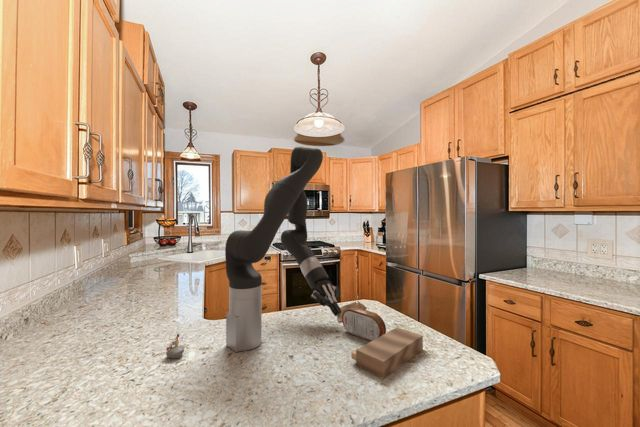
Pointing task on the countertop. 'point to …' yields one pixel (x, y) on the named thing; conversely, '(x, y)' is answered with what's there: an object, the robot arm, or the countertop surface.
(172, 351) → the figurine
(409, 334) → the walnut plank
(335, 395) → the countertop surface
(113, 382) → the countertop surface
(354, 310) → the tin
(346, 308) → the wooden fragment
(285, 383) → the countertop surface
